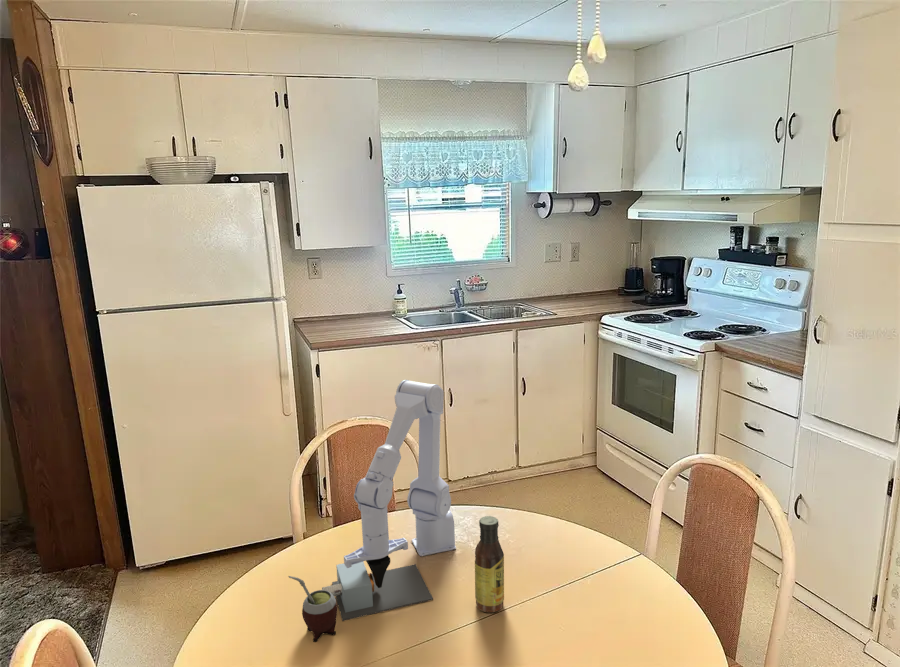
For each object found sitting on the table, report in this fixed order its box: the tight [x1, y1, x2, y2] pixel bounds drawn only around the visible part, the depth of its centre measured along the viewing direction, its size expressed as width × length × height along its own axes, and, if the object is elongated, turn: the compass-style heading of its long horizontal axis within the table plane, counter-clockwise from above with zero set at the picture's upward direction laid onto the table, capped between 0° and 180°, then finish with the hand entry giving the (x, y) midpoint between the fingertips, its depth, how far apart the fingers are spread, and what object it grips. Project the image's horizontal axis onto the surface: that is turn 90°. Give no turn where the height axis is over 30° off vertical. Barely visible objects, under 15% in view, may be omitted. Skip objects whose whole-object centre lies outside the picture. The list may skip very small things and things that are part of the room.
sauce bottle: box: [474, 515, 505, 614], centre depth 135 cm, size 6×6×20 cm
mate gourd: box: [288, 575, 339, 643], centre depth 128 cm, size 8×8×15 cm
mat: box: [331, 564, 434, 622], centre depth 143 cm, size 20×14×1 cm
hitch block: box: [335, 561, 373, 613], centre depth 140 cm, size 6×10×6 cm, turn 19°
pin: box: [321, 572, 374, 598], centre depth 140 cm, size 11×4×4 cm, turn 109°
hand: (378, 585), depth 142 cm, fingers closed
